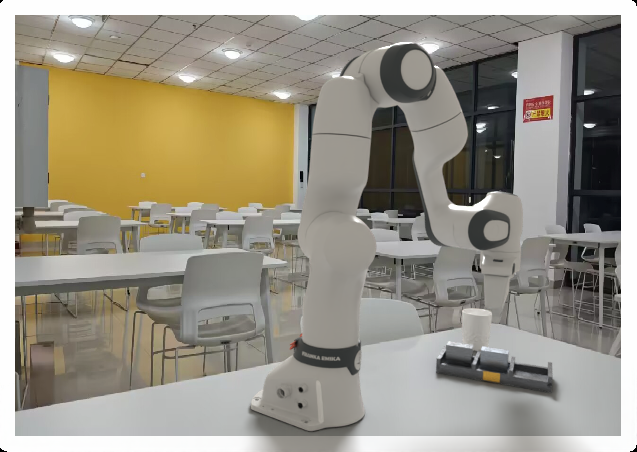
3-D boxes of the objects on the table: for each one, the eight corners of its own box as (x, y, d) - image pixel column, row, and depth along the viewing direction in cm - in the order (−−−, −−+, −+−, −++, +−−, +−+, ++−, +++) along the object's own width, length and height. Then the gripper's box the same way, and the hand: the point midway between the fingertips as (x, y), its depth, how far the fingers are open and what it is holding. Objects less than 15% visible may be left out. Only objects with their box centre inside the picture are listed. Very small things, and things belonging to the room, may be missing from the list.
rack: (435, 373, 121) (436, 348, 120) (443, 359, 130) (444, 336, 130) (551, 393, 111) (553, 366, 110) (551, 377, 120) (552, 352, 120)
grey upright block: (479, 370, 120) (480, 350, 120) (481, 366, 123) (482, 346, 123) (506, 375, 118) (508, 354, 117) (507, 370, 121) (509, 350, 120)
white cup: (494, 352, 137) (496, 316, 136) (464, 351, 137) (466, 315, 136) (485, 343, 144) (487, 308, 144) (457, 342, 145) (458, 307, 144)
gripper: (490, 255, 129) (487, 309, 130) (480, 267, 110) (477, 329, 112) (516, 257, 126) (513, 312, 128) (511, 270, 108) (507, 333, 109)
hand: (496, 320), depth 119 cm, fingers open, 2 cm apart
